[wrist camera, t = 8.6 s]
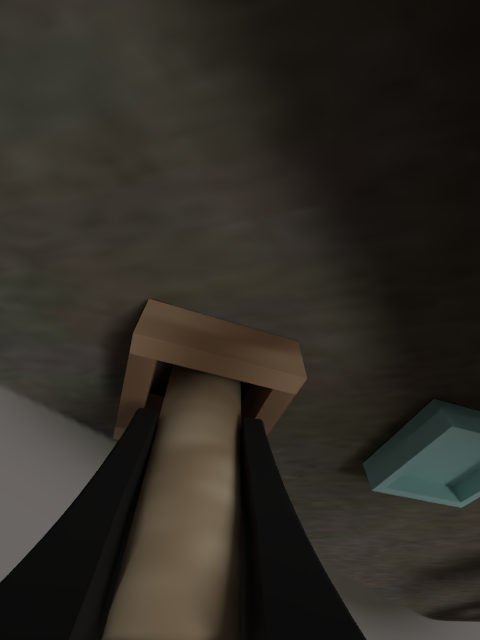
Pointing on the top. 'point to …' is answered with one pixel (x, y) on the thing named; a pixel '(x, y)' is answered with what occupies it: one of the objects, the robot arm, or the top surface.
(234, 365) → the socket
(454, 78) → the top surface
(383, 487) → the tray
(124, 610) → the dowel
